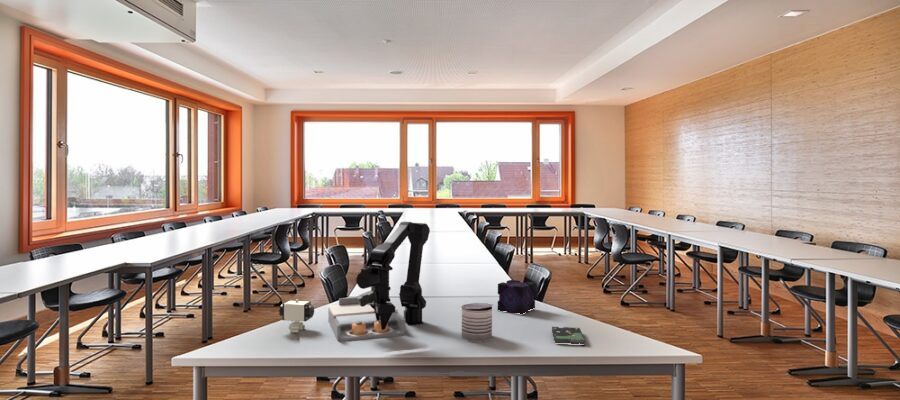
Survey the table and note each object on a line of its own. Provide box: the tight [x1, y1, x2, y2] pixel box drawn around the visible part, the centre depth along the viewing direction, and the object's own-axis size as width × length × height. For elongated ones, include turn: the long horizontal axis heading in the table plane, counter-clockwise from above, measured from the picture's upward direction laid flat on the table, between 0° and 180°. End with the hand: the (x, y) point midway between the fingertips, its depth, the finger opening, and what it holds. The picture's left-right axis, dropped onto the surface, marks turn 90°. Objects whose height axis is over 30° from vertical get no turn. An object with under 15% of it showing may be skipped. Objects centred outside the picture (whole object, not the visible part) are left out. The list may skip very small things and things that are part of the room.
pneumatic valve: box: [278, 298, 315, 334], centre depth 183 cm, size 6×12×12 cm, turn 83°
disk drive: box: [551, 326, 586, 344], centre depth 177 cm, size 10×3×15 cm
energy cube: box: [497, 279, 536, 314], centre depth 217 cm, size 12×12×12 cm
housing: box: [327, 307, 406, 342], centre depth 185 cm, size 24×27×6 cm
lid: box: [328, 296, 399, 318], centre depth 190 cm, size 24×14×3 cm, turn 110°
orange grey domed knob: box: [351, 320, 367, 335], centre depth 176 cm, size 5×5×5 cm
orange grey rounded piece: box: [374, 320, 388, 333], centre depth 179 cm, size 5×5×5 cm
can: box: [460, 302, 494, 343], centre depth 178 cm, size 11×11×12 cm
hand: (381, 326), depth 179 cm, fingers open, 7 cm apart
